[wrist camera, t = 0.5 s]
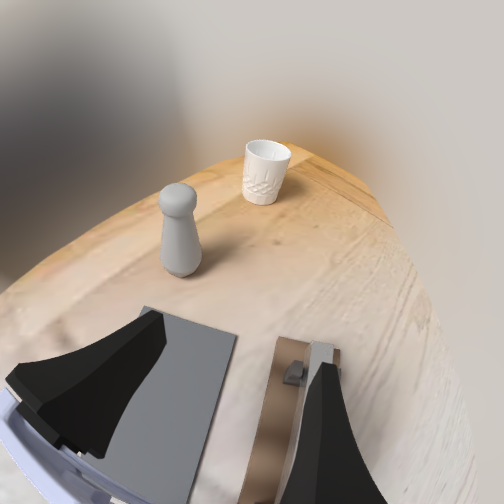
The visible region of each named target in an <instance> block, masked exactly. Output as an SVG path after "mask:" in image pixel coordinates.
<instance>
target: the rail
mask: <svg viewBox="0 0 504 504" xmlns="http://www.w3.org/2000/svg"><path fill="white" fill-rule="evenodd" d="M333 350H334V345H331V344H326V343H321V342H316V341H312V342H311V343H310V344H309V346H308V347H307V348H306V349H305V355H304V365H303V371H302V376H301V381H300V387H299V393H298V399H297V405H296V410H295V415H294V421H293V426H292V431H291V436H290V440H289V445H288V450H287V454H286V459H285V463H284V467H283V471H282V476H281V480H280V484H279V487H278V491H277V495H276V499H275V502H274V504H279V503H280V501H281V498H282V495H283V493H284V490H285V487H286V485H287V482H288V479H289V476H290V473H291V470H292V466H293V463H294V460H295V456H296V452H297V446H298V441H299V434H300V428H301V421H302V415H303V408H304V404H305V400H306V396H307V392H308V388H309V386H310V384H311V382H312V380H313V378H314V376H315V374H316V372H317V371H318V369H319V367H320V365H321V363H322V362H326V363H331V364H332V361H333Z"/></svg>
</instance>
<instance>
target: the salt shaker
mask: <svg viewBox="0 0 504 504" xmlns="http://www.w3.org/2000/svg"><path fill="white" fill-rule="evenodd" d="M196 203H197V195H196V191H195V190H194V189H193V188H192V187H191V186H189V185H187V184H184V183H173V184H170V185H168V186H166V187H165V188H164V189H163V190H162V191H161V192H160V195H159V207H160V209H161V211H162V213H163V214H164V220H163V229H162V239H161V250H160V261H161V263H162V265H163V267H164V268H165V269H166V270H167V271H168V272H169V273H170V274H172V275H174V276H177V277H179V278H183V277H185V276H188V275H190V274H193V273H194V271H195V270H196V269H197V267H198V266H199V264H200V262H201V260H202V249H201V245H200V241H199V237H198V233H197V229H196V225H195V221H194V216H193V211H194V209H195V208H196Z"/></svg>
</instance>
